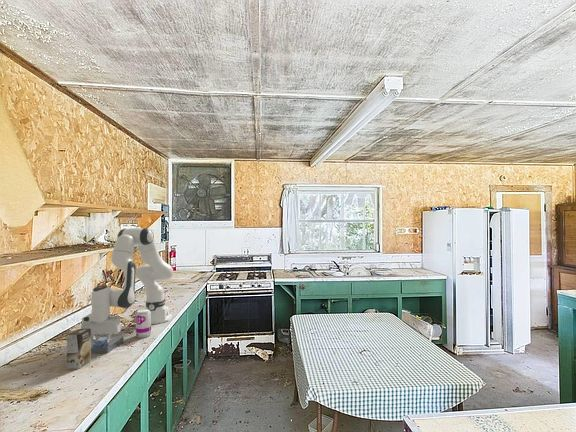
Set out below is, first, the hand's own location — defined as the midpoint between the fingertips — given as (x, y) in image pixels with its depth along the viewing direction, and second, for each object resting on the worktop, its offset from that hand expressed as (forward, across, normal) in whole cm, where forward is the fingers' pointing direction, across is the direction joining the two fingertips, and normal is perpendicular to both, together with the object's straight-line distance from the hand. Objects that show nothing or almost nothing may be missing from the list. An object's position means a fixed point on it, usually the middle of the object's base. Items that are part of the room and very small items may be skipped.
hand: (101, 342), depth 182 cm
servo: (+3, 0, 0) cm, 3 cm away
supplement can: (+4, -14, -20) cm, 25 cm away
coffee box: (+4, -1, +20) cm, 20 cm away
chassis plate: (+4, 0, -2) cm, 4 cm away
